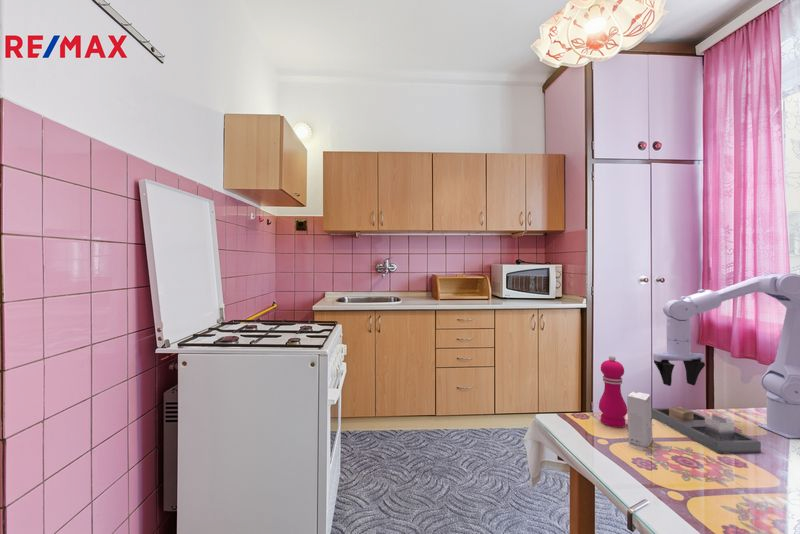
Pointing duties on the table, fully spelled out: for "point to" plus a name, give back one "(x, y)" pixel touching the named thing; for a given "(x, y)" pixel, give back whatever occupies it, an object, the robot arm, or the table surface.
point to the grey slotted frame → (697, 433)
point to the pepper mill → (612, 394)
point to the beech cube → (680, 413)
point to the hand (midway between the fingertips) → (679, 384)
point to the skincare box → (639, 418)
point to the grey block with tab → (719, 428)
